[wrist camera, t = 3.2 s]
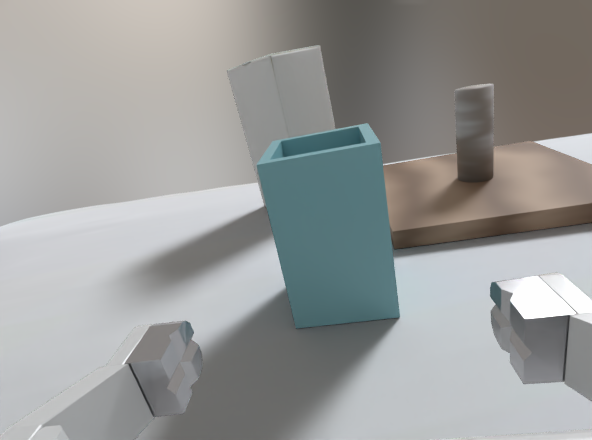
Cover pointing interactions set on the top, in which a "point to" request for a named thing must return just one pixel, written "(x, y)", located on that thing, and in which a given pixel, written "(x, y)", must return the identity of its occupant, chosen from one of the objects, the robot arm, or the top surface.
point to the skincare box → (281, 98)
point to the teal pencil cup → (331, 225)
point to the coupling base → (484, 184)
